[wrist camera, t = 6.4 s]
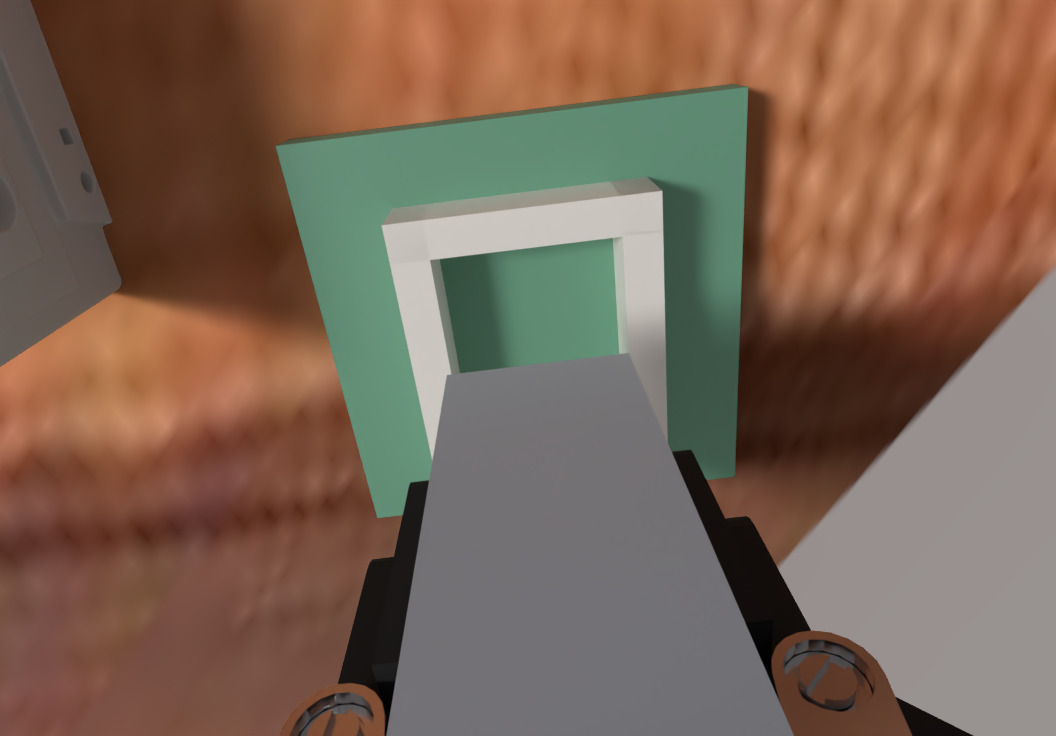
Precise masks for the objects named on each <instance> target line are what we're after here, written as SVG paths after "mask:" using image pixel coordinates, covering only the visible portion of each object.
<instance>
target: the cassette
mask: <svg viewBox="0 0 1056 736" xmlns="http://www.w3.org/2000/svg"><path fill="white" fill-rule="evenodd" d="M110 223H112V219H111V216H110V214H109V211H108V208H107V206H106V203H105V200H104V197H103V195H102V192H101V189H100V187H99V184H98V181H97V179H96V176H95V173H94V171H93V168H92V165H91V162H90V160H89V157H88V154H87V152H86V149H85V146H84V144H83V141H82V138H81V135H80V133H79V130H78V127H77V125H76V122H75V119H74V117H73V114H72V111H71V109H70V106H69V103H68V100H67V98H66V95H65V92H64V90H63V87H62V84H61V82H60V79H59V76H58V73H57V71H56V68H55V65H54V63H53V60H52V57H51V55H50V52H49V49H48V46H47V44H46V41H45V38H44V36H43V33H42V30H41V28H40V25H39V22H38V20H37V17H36V14H35V11H34V9H33V6H32V3H31V1H30V0H0V367H1V366H2V365H4V364H5V363H7V362H8V361H10V360H11V359H13V358H14V357H16V356H18V355H19V354H21V353H22V352H24V351H25V350H27V349H28V348H30V347H31V346H33V345H34V344H36V343H37V342H39V341H40V340H42V339H44V338H45V337H47V336H48V335H50V334H51V333H53V332H54V331H56V330H57V329H59V328H60V327H62V326H63V325H65V324H66V323H68V322H70V321H71V320H73V319H74V318H76V317H77V316H79V315H80V314H82V313H83V312H85V311H86V310H88V309H89V308H91V307H92V306H94V305H96V304H97V303H99V302H100V301H102V300H103V299H105V298H106V297H108V296H109V295H111V294H112V293H114V292H115V291H117V290H118V289H119V288H120V286H121V282H122V280H121V277H120V275H119V272H118V269H117V267H116V264H115V261H114V259H113V256H112V254H111V251H110V248H109V246H108V243H107V240H106V237H105V234H104V231H103V226H105V225H107V224H110Z"/></svg>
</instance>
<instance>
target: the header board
mask: <svg viewBox="0 0 1056 736" xmlns="http://www.w3.org/2000/svg"><path fill="white" fill-rule="evenodd" d="M747 110H748V87H746V86H741V85H736V84H729V85H721V86H714V87H706V88H698V89H690V90H682V91H674V92H666V93H658V94H650V95H642V96H634V97H626V98H618V99H610V100H602V101H594V102H586V103H578V104H570V105H562V106H554V107H546V108H538V109H530V110H522V111H514V112H506V113H498V114H490V115H482V116H474V117H466V118H458V119H450V120H442V121H434V122H426V123H418V124H410V125H402V126H394V127H386V128H378V129H371V130H363V131H355V132H347V133H339V134H331V135H323V136H315V137H307V138H299V139H291V140H287V141H285V142H283V143H281V144H279V145H277V146H276V150H277V154H278V157H279V161H280V164H281V168H282V172H283V175H284V179H285V183H286V186H287V190H288V194H289V197H290V201H291V205H292V208H293V212H294V215H295V219H296V223H297V226H298V230H299V234H300V237H301V241H302V245H303V248H304V252H305V256H306V259H307V263H308V267H309V270H310V274H311V277H312V281H313V285H314V288H315V292H316V296H317V299H318V303H319V307H320V310H321V314H322V318H323V321H324V325H325V328H326V332H327V336H328V339H329V343H330V347H331V350H332V354H333V358H334V361H335V365H336V369H337V372H338V376H339V379H340V383H341V387H342V390H343V394H344V398H345V401H346V405H347V409H348V412H349V416H350V420H351V423H352V427H353V431H354V434H355V438H356V441H357V445H358V449H359V452H360V456H361V460H362V463H363V467H364V471H365V474H366V478H367V482H368V485H369V489H370V492H371V496H372V500H373V503H374V507H375V511H376V514H377V518H381V517H390V516H398V515H403V512H404V507H405V502H406V498H407V493H408V488H409V485H410V483H411V482H418V481H426V480H429V478H430V473H431V467H432V461H433V455H434V449H435V443H436V437H437V431H438V425H439V419H440V413H441V407H442V401H443V395H444V389H445V383H446V377H447V375H451V374H459V373H467V372H476V371H484V370H492V369H500V368H508V367H517V366H525V365H533V364H541V363H550V362H558V361H566V360H574V359H583V358H591V357H599V356H607V355H616V354H624V353H629V354H630V357H631V359H632V361H633V364H634V366H635V368H636V371H637V373H638V375H639V378H640V380H641V382H642V385H643V387H644V389H645V392H646V394H647V396H648V398H649V401H650V403H651V405H652V408H653V410H654V412H655V415H656V417H657V419H658V422H659V424H660V426H661V429H662V431H663V433H664V436H665V438H666V440H667V443H668V445H669V447H670V450H671V452H673V451H681V450H692V452H693V453H694V455H695V458H696V460H697V462H698V464H699V466H700V468H701V470H702V472H703V474H704V476H705V478H706V480H710V479H719V478H727V477H735V458H736V429H737V400H738V371H739V342H740V313H741V284H742V255H743V226H744V197H745V168H746V139H747Z"/></svg>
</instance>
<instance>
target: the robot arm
mask: <svg viewBox="0 0 1056 736" xmlns="http://www.w3.org/2000/svg"><path fill="white" fill-rule="evenodd" d="M672 454H673V456H674V459H675V461H676V463H677V466H678V468H679V470H680V473H681V475H682V477H683V480H684V482H685V484H686V487H687V489H688V491H689V494H690V496H691V498H692V501H693V503H694V505H695V507H696V510H697V512H698V514H699V517H700V519H701V521H702V524H703V526H704V528H705V531H706V533H707V535H708V538H709V540H710V542H711V545H712V547H713V549H714V552H715V554H716V556H717V558H718V561H719V563H720V565H721V568H722V570H723V572H724V575H725V577H726V579H727V582H728V584H729V586H730V589H731V591H732V593H733V596H734V598H735V600H736V603H737V605H738V607H739V609H740V612H741V614H742V616H743V619H744V621H745V623H746V626H747V628H748V630H749V633H750V635H751V637H752V640H753V642H754V644H755V647H756V649H757V651H758V654H759V656H760V658H761V661H762V663H763V665H764V667H765V670H766V672H767V674H768V677H769V679H770V681H771V684H772V686H773V688H774V691H775V693H776V695H777V698H778V700H779V702H780V705H781V707H782V709H783V712H784V714H785V716H786V718H787V721H788V723H789V725H790V728H791V730H792V732H793V735H794V736H973V735H971V734H969V733H967V732H965V731H962V730H961V729H959V728H957V727H955V726H953V725H951V724H949V723H947V722H944V721H943V720H941V719H938V718H937V717H935V716H933V715H930V714H929V713H927V712H925V711H922V710H921V709H919V708H917V707H915V706H913V705H911V704H909V703H907V702H905V701H903V700H901V699H899V698H897V697H895V695H894V693H893V691H892V688H891V686H890V684H889V681H888V679H887V677H886V675H885V673H884V671H883V670H882V668H881V667H880V665H879V663H878V662H877V660H875V658H874V657H873V656H872V655H870V654H869V653H868V652H867V651H866V650H865V649H864V648H863V647H861V646H859V645H858V644H856V643H854V642H853V641H851V640H849V639H847V638H845V637H842V636H839V635H836V634H833V633H829V632H821V631H811V630H810V628H809V626H808V624H807V622H806V620H805V618H804V616H803V615H802V613H801V611H800V609H799V607H798V605H797V603H796V602H795V600H794V598H793V596H792V594H791V592H790V590H789V589H788V587H787V585H786V583H785V581H784V579H783V577H782V576H781V574H780V572H779V570H778V568H777V566H776V564H775V563H774V561H773V559H772V557H771V555H770V553H769V551H768V550H767V548H766V546H765V544H764V542H763V540H762V538H761V537H760V535H759V533H758V531H757V529H756V527H755V525H754V524H753V522H752V521H751V519H750V518H748V517H747V516H744V517H736V518H727V519H725V518H724V515H723V513H722V511H721V509H720V507H719V505H718V503H717V501H716V499H715V497H714V495H713V493H712V491H711V489H710V486H709V484H708V482H707V480H706V478H705V476H704V474H703V472H702V470H701V468H700V466H699V464H698V462H697V460H696V458H695V455H694V453H693V452H692V450H681V451H673V452H672ZM428 484H429V480H426V481H418V482H411V483H410V485H409V488H408V493H407V498H406V502H405V507H404V512H403V517H402V521H401V526H400V531H399V535H398V540H397V545H396V550H395V554H394V557H390V558H382V559H373V560H372V561H371V562H370V564H369V566H368V569H367V573H366V577H365V581H364V585H363V589H362V592H361V596H360V600H359V604H358V608H357V612H356V616H355V620H354V624H353V627H352V631H351V635H350V639H349V643H348V647H347V651H346V655H345V659H344V662H343V666H342V670H341V674H340V678H339V682H338V684H336V685H333V686H330V687H328V688H325V689H322V690H320V691H318V692H316V693H315V694H313V695H312V696H310V697H309V698H307V699H305V700H304V701H303V702H302V703H301V704H300V705H299V706H298V707H297V708H296V709H295V710H294V711H293V712H292V713H291V715H290V716H289V718H288V719H287V721H286V722H285V724H284V725H283V727H282V730H281V733H280V736H386V735H387V729H388V723H389V717H390V711H391V705H392V699H393V693H394V687H395V682H396V676H397V670H398V664H399V658H400V652H401V646H402V640H403V634H404V628H405V622H406V616H407V610H408V604H409V598H410V592H411V586H412V580H413V574H414V568H415V562H416V556H417V550H418V544H419V538H420V532H421V526H422V520H423V514H424V508H425V502H426V496H427V490H428Z"/></svg>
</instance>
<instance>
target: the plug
mask: <svg viewBox="0 0 1056 736" xmlns="http://www.w3.org/2000/svg"><path fill="white" fill-rule="evenodd" d="M386 736H794V735H793V732H792V730H791V728H790V725H789V723H788V721H787V718H786V716H785V714H784V712H783V709H782V707H781V705H780V702H779V700H778V698H777V695H776V693H775V691H774V688H773V686H772V684H771V681H770V679H769V677H768V674H767V672H766V670H765V667H764V665H763V663H762V661H761V658H760V656H759V654H758V651H757V649H756V647H755V644H754V642H753V640H752V637H751V635H750V633H749V630H748V628H747V626H746V623H745V621H744V619H743V616H742V614H741V612H740V609H739V607H738V605H737V603H736V600H735V598H734V596H733V593H732V591H731V589H730V586H729V584H728V582H727V579H726V577H725V575H724V572H723V570H722V568H721V565H720V563H719V561H718V558H717V556H716V554H715V552H714V549H713V547H712V545H711V542H710V540H709V538H708V535H707V533H706V531H705V528H704V526H703V524H702V521H701V519H700V517H699V514H698V512H697V510H696V507H695V505H694V503H693V501H692V498H691V496H690V494H689V491H688V489H687V487H686V484H685V482H684V480H683V477H682V475H681V473H680V470H679V468H678V466H677V463H676V461H675V459H674V456H673V454H672V452H671V450H670V447H669V445H668V443H667V440H666V438H665V436H664V433H663V431H662V429H661V426H660V424H659V422H658V419H657V417H656V415H655V412H654V410H653V408H652V405H651V403H650V401H649V398H648V396H647V394H646V392H645V389H644V387H643V385H642V382H641V380H640V378H639V375H638V373H637V371H636V368H635V366H634V364H633V361H632V359H631V357H630V354H629V353H624V354H616V355H607V356H599V357H591V358H583V359H574V360H566V361H558V362H550V363H541V364H533V365H525V366H517V367H508V368H500V369H492V370H484V371H476V372H467V373H459V374H451V375H447V377H446V383H445V389H444V395H443V401H442V407H441V413H440V419H439V425H438V431H437V437H436V443H435V449H434V455H433V461H432V467H431V473H430V478H429V484H428V490H427V496H426V502H425V508H424V514H423V520H422V526H421V532H420V538H419V544H418V550H417V556H416V562H415V568H414V574H413V580H412V586H411V592H410V598H409V604H408V610H407V616H406V622H405V628H404V634H403V640H402V646H401V652H400V658H399V664H398V670H397V676H396V682H395V687H394V693H393V699H392V705H391V711H390V717H389V723H388V729H387V735H386Z"/></svg>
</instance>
